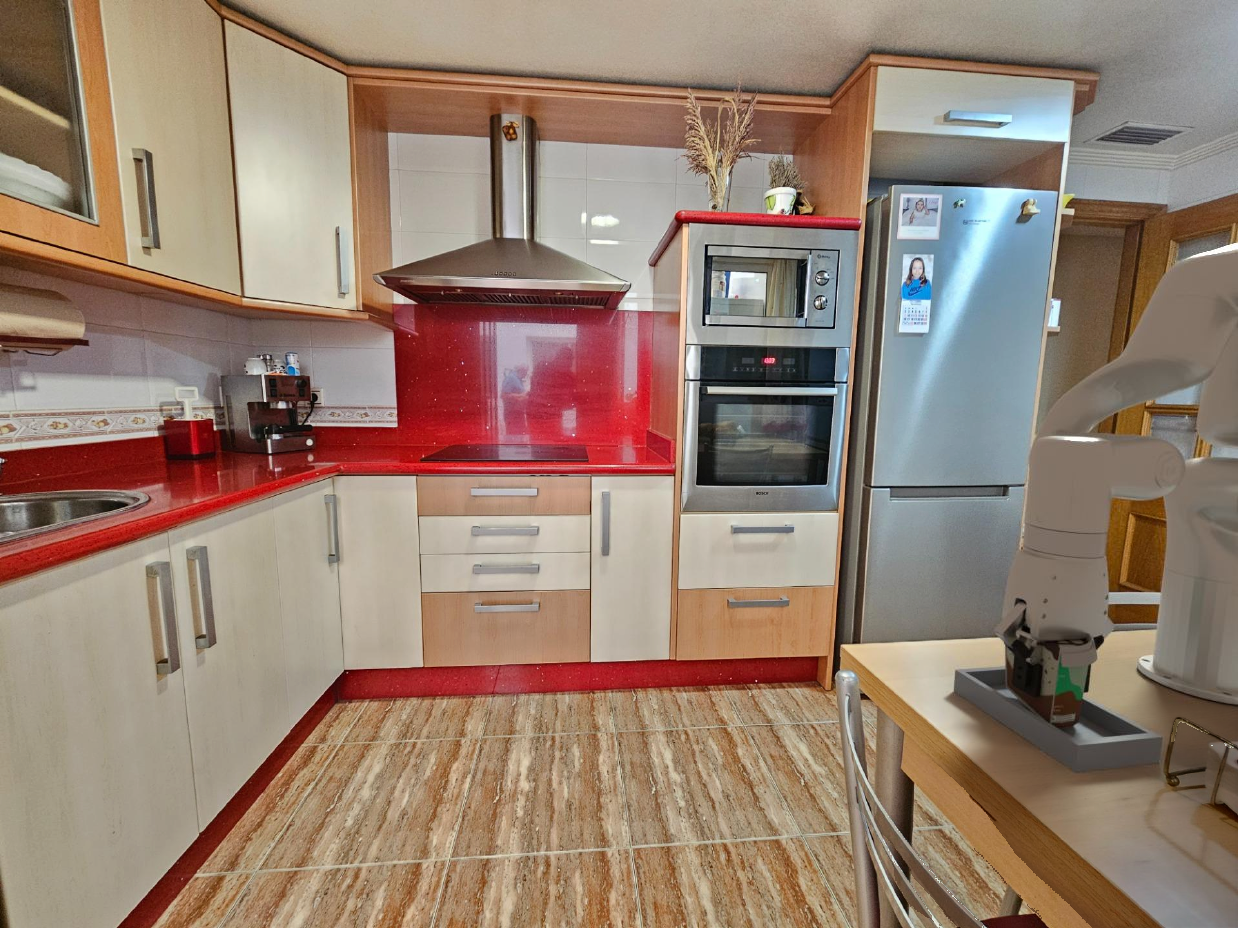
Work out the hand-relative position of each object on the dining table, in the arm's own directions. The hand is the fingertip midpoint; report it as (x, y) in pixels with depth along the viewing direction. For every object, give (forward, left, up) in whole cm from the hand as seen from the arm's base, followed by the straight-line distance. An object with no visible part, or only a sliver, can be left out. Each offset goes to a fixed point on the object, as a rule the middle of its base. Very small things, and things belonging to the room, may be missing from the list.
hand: (1049, 687), depth 65 cm
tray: (0, 0, -4) cm, 4 cm away
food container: (-1, 0, -3) cm, 3 cm away
